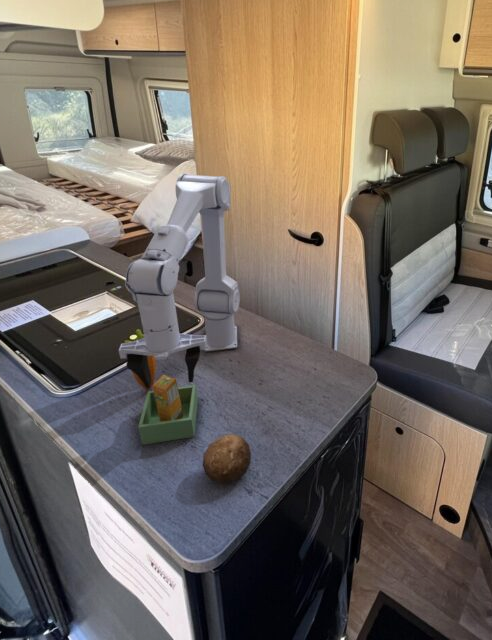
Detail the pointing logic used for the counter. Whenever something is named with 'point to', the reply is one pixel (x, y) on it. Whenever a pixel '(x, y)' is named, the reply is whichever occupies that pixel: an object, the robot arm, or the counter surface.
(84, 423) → the counter surface
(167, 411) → the supplement box
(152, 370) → the carrot
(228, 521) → the counter surface
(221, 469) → the brown oval lump
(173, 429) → the bin
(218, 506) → the counter surface
